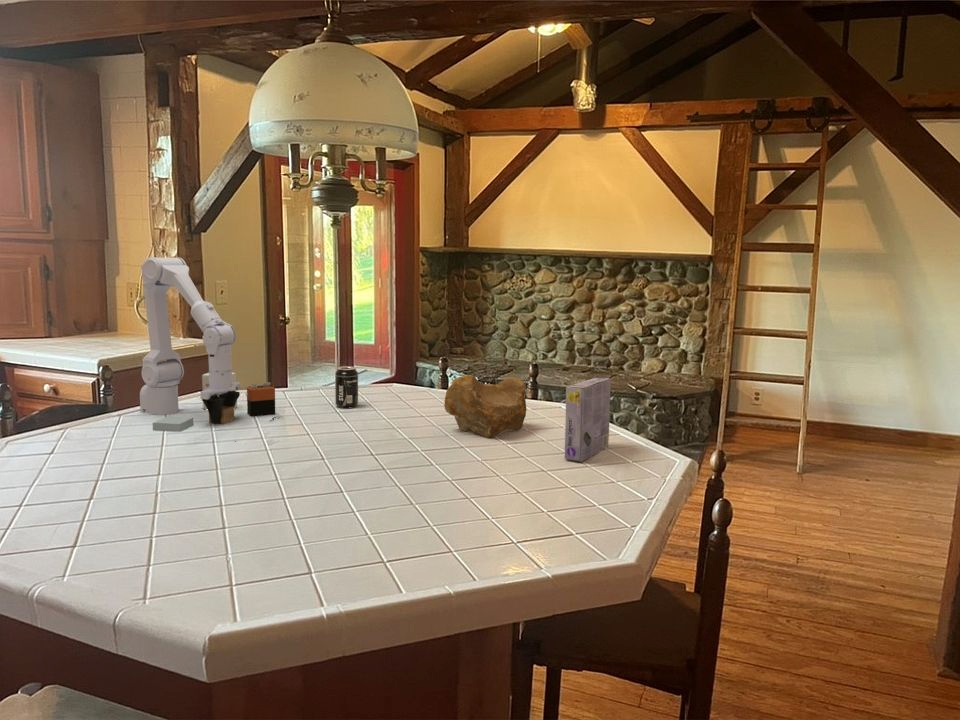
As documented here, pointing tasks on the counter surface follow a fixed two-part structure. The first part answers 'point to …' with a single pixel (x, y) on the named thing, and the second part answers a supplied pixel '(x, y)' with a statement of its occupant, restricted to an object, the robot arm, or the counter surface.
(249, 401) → the battery
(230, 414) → the walnut block
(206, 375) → the small box
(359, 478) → the counter surface
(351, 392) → the beverage can
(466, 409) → the rough brown rock
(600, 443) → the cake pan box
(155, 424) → the gray slab
